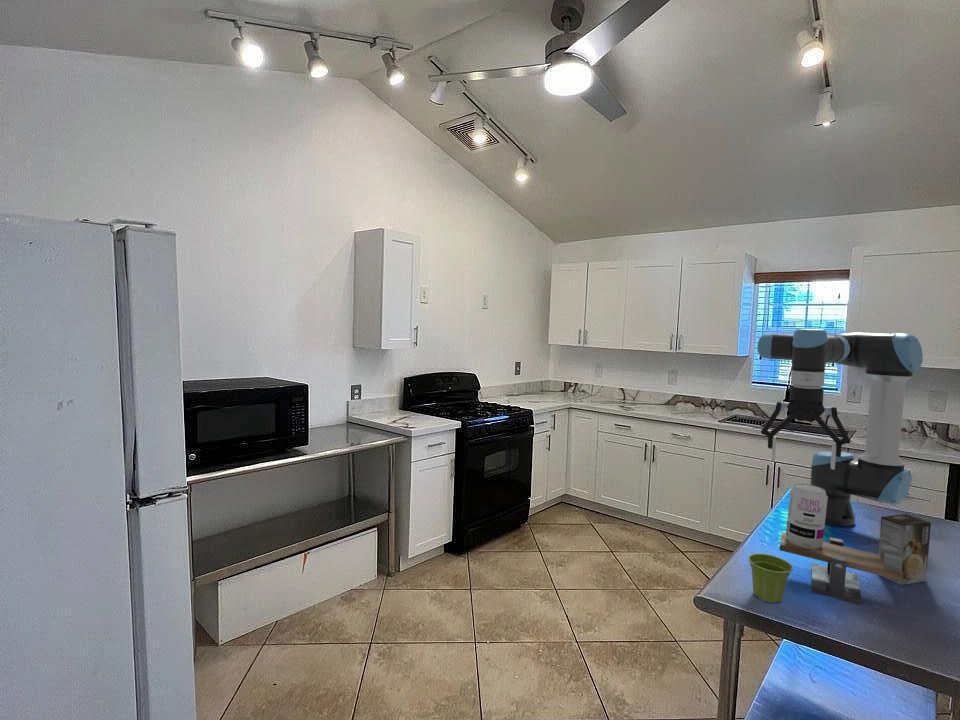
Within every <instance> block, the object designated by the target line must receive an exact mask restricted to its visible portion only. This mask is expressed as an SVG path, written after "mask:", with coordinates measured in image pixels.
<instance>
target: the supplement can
mask: <svg viewBox="0 0 960 720" xmlns="http://www.w3.org/2000/svg"><path fill="white" fill-rule="evenodd" d="M788 500H789V501H788V508H787V509H788V510H787V521H786V528H785V533H786V538H787V540H788V541H789V542H790V543H791V544H793V545H795V546H798V547H801V548H805V549H812V550H815V549H819V548H820V547H822V545H823V542H824V534H825V528H826V526H825V525H826V524H825V518H826V509H827V500H828V496H827V494H826V492H825V490H824V489H822V488H820V487H817V486H813V485H810V484H806V483H795V484H793V486H792V488H791V489H790V490H789V499H788Z"/></svg>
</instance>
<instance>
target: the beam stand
mask: <svg viewBox="0 0 960 720" xmlns="http://www.w3.org/2000/svg"><path fill="white" fill-rule="evenodd" d="M828 540H829V541H828V543H832V544H836V545H840V546H844V540H843V539H841V538H840V539H839V538H835V537H829V538H828ZM826 563H827V565H822V564H819V563H814V562H811V565H810V566H811V567H810V568H811V572H812V574H811V593H813V594H818V595H821V596H826V597H830V598H833V599H837V600H840V601H841V600H842V601H845V602H849V603H853V604H857V605H860V606H862V605H863V598H862V593H861V588H860V583H859V577H858V573H857V572H853V571H849V570H847V567H846V563H847V561H846V558H842V557H838V556H833V555H831V563H829V562H826ZM811 572H810V573H811Z"/></svg>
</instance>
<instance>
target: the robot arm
mask: <svg viewBox="0 0 960 720" xmlns="http://www.w3.org/2000/svg"><path fill="white" fill-rule="evenodd" d="M756 348H757V353H758V355H759V357H761V358H762V359H769V360H779V361H780V360H781V361H782V360H783V361H791V362H792V363H791V370H790V371H791V372H790V384H791V385H792V386H791V387H790V389H789V402H788V403H784V402H781V401H777V402H776V404H775V409H774V411H773V412H772V414H771V415H770V417H769V418H768V419H767V421H766V422H765V424H764V425H763V427H762V429H761V431H760V434H762V435H764V436H767V448H768V449H771V462H772V463H773V462H774V463H775V462H776V451H777V449H776V448H777V447H776V446H777V436H775V435H776V434H778V433H779V432H780V431H782V429H784V428H785V427H786V426H787V425H788V424H790V423H791V422H793V421H794V420H796V421H799V422H808V423H812V422H813V423H814V421H815V422H816V423H817V424H818V425H819V426H820V427H821V428H822V429H823V431H824V432H825V433H826V434H827V435H828V436H829V437H830V438H831V440H833V442H831V451H819V452H816V453H814V454H813V455H812V460H811V461H812V462H811V464H810V467H811V468H810V469H811V470H810V484H809V485H813V486H817V487H820V488H822V489H824V490H825V492H826V494H827V496H828V500H827V509H826V518H825V525H829V526H835V527H852V526H851V525H853V524H854V525H855V524H856V515H855V511H854V508H853V505H852V502H851V499H852V497H851V496H855V497H858V498H859V497H860V498H862V499H867V500H870V501H874V502H878V503H879V504H887V505H890V506H897V505H899V504H901V503H902V502H903V501H904V500H905V499H906V497H907V496H908V493H909V491H910V488H911V485H912V473H911V472H910V471H909V470H907V469H905V462H904V461H903V459H901V458H900V448H901V437H902V436H901V434H902V423H903V413H904V400H905V393H906V392H905V390H906V383H907V381H909V380H910V379H912V378H913V374H914V373H915V372H919V371H920V369H922V364H923V357H924V356H923V349H922V348H923V347H922V344H921V342H920V340H919V339H918V338H917V337H916V336H915V335H913V334H911V333H910V334H909V333H902V332H865V331H864V332H863V331H856V332H847V333H829V334H828V332H827V331H826V330H825V329H823V328H822V329H819V328H798V329H795V331H794V332H793V334H784V333H783V334H781V333H767V334H766V333H765V334H762V335H761V336H760V338H759V339H758V342H757V347H756ZM826 364H837V365H843V366H847V367H853V368H854V367H855V368H861V369H865V375H866V377H868V378H869V379H870V388H869V401H868V409H867V410H868V411H867V412H868V413H867V423H866V434H865V446H864V447H865V448H864V452H863V453H862V454H860V455H859V456H858V459H855V455H854V454H853V453H850V452H846V451H845V452H844V451H842V447H843V445H846V444H850V443H851V439H850V437H849V435H848V434H847V431H846V430H845V427H844V426H843V423H842V422H841V420H840V418H839V416H838V409H837V406H835V405H831V406H824V388H822V387H824V386H825V374H826V373H825V372H826ZM785 409H787V410H788V411H789V414H788V415H787V416H786V417H785V418H784V419H783V420H781V422H779V423H778V424H777V425H776V426H775V427H773V429H771V430H769V429H770V428H771V427H772V424H773V423H774V422H775V420H776V419H777V418H778V416H779V415H780V412H783V411H785ZM825 412H826V413H827V415H829V416H831V418H832V420H833V421H834V424H835V425H836V428H837V429H838V432H839V433H840V436H841V437H842V438H839V436H838V435H837V434H836V432H835V431H833V429H832V428H831V427H830V426H829V425H828V424H827V423H826V421H824V419H823V418H822V416H821V415H823V413H825ZM854 525H853V526H854Z"/></svg>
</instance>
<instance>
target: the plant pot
mask: <svg viewBox="0 0 960 720" xmlns="http://www.w3.org/2000/svg"><path fill="white" fill-rule="evenodd" d="M747 558H748V562H749V564H750V565H749V566H750V567H751V577H752V590H753V591H752V593H753V595H754V596H757V598H758V599H759V600H762V601H764V602H767V603H771V604H775V603H781V602H782V600H783V597H784V593H785V589H786V585H787V581H788V577H790V574H791V573H792V571H793V570H794V567H793V566H792V563H790V562H788V561H787V560H785V559H783V558H781V557H778V556H775V555H772V554H767V553H752V554H750V555H749V556H747Z"/></svg>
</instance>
